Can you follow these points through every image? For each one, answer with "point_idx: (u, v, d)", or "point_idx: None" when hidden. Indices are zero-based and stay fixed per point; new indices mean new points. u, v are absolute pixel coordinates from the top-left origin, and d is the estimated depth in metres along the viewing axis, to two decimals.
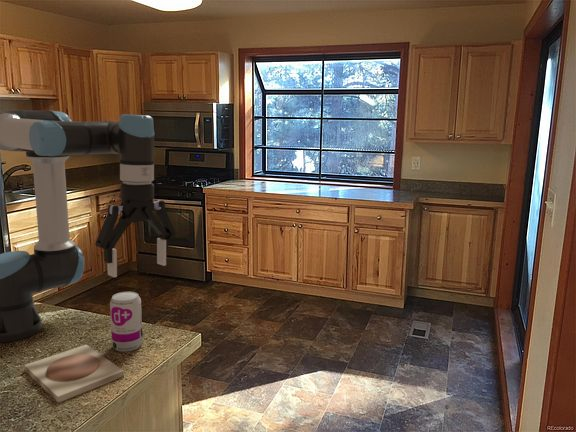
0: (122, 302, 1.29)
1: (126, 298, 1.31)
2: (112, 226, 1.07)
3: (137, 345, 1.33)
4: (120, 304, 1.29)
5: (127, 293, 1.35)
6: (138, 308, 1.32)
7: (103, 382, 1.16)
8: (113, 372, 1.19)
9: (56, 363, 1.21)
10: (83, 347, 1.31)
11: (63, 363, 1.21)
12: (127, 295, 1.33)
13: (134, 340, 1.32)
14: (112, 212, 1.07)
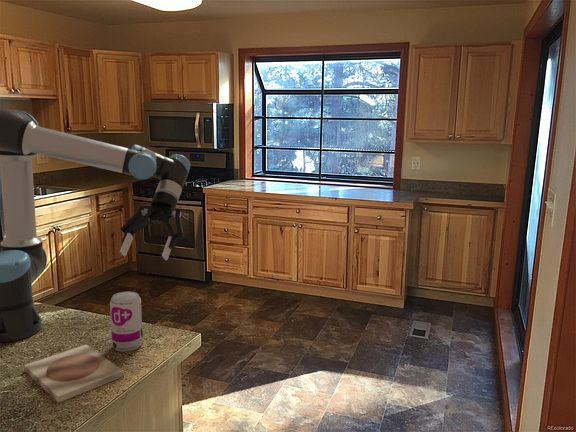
0: (122, 302, 1.29)
1: (126, 298, 1.31)
2: None
3: (137, 345, 1.33)
4: (120, 304, 1.29)
5: (127, 293, 1.35)
6: (138, 308, 1.32)
7: (103, 382, 1.16)
8: (113, 372, 1.19)
9: (56, 363, 1.21)
10: (83, 347, 1.31)
11: (63, 363, 1.21)
12: (127, 295, 1.33)
13: (134, 340, 1.32)
14: (181, 216, 1.47)
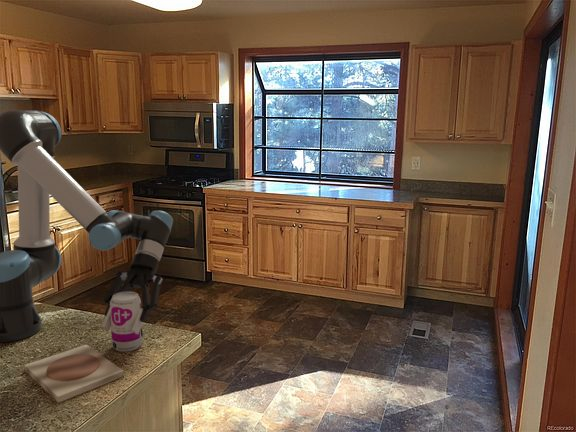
0: (122, 302, 1.29)
1: (126, 298, 1.31)
2: None
3: (137, 345, 1.33)
4: (120, 304, 1.29)
5: (127, 293, 1.35)
6: (138, 308, 1.32)
7: (103, 382, 1.16)
8: (113, 372, 1.19)
9: (56, 363, 1.21)
10: (83, 347, 1.31)
11: (63, 363, 1.21)
12: (127, 295, 1.33)
13: (134, 340, 1.32)
14: (160, 283, 1.39)
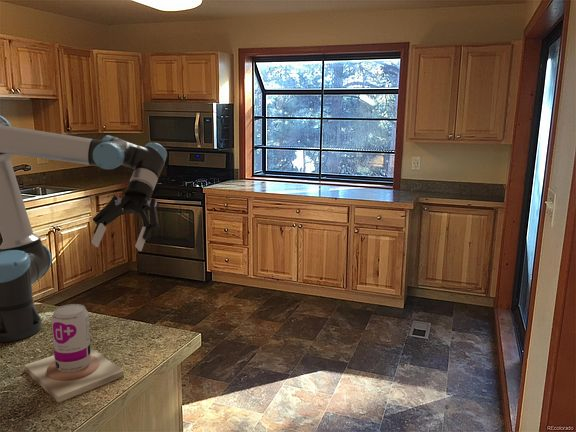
0: (64, 317, 1.14)
1: (70, 312, 1.16)
2: None
3: (83, 365, 1.18)
4: (62, 319, 1.14)
5: (73, 306, 1.20)
6: (84, 323, 1.17)
7: (103, 382, 1.16)
8: (113, 372, 1.19)
9: None
10: None
11: None
12: (72, 308, 1.18)
13: (79, 359, 1.17)
14: (156, 206, 1.42)
